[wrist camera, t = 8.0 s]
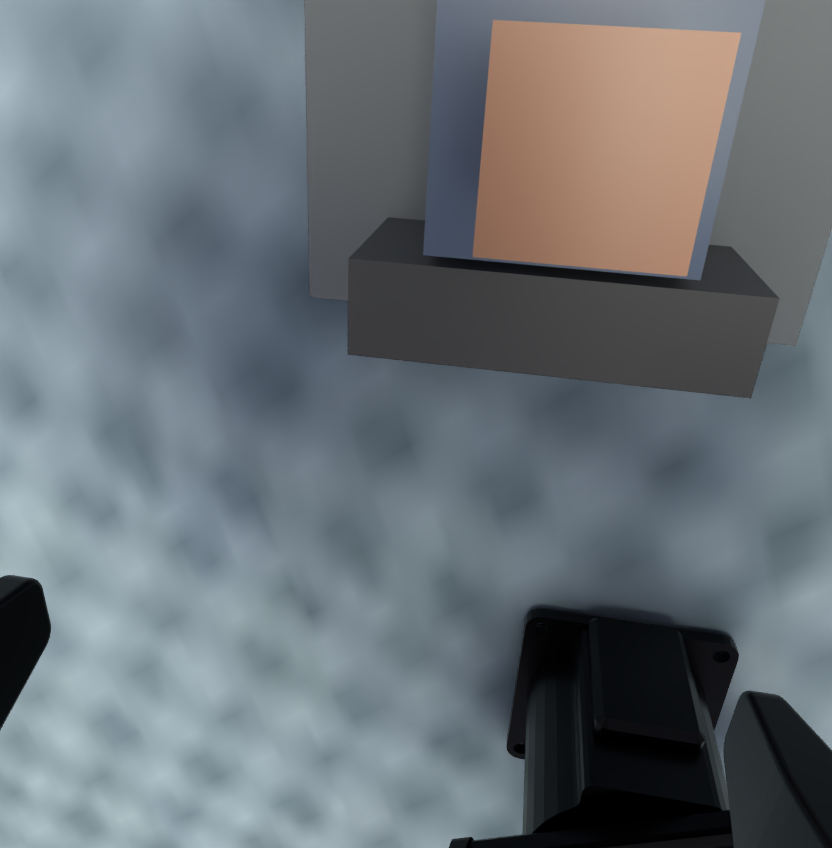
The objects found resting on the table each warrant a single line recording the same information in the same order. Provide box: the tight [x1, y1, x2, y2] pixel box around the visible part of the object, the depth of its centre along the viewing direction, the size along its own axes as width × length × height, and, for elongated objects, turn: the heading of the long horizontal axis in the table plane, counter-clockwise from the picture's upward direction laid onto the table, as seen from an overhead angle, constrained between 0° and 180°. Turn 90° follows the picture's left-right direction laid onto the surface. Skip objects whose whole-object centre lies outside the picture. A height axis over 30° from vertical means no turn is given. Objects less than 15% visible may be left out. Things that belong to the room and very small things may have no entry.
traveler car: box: [423, 0, 766, 280], centre depth 12 cm, size 5×5×8 cm
